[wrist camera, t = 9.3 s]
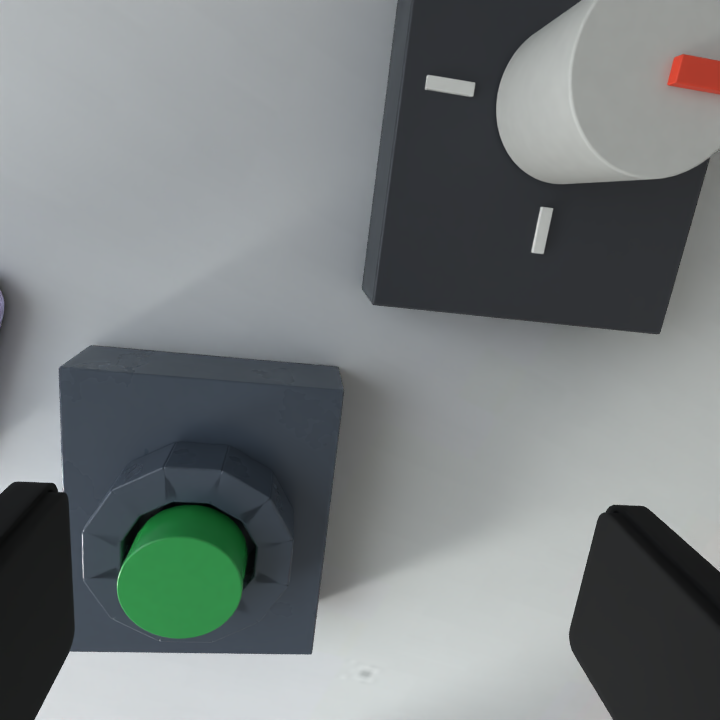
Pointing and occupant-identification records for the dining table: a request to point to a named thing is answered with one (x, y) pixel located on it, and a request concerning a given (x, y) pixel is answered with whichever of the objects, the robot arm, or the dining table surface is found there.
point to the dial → (615, 92)
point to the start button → (184, 572)
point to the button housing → (199, 484)
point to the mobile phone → (1, 307)
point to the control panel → (505, 192)
